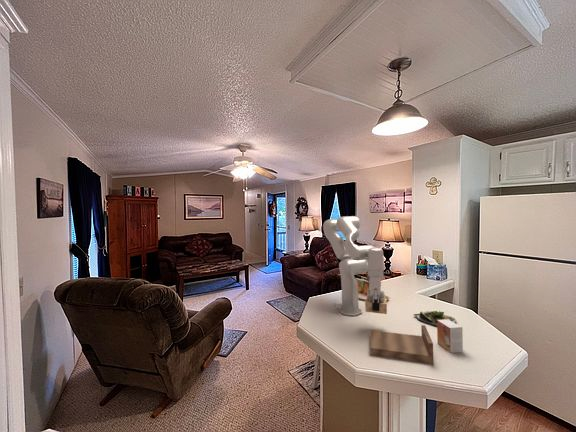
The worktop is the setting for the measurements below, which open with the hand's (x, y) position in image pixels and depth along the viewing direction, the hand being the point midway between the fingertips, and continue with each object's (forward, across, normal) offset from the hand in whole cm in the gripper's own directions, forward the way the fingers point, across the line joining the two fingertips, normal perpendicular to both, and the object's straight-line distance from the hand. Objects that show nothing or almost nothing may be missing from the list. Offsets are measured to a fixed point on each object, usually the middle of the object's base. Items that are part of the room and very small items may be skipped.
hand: (375, 307), depth 124 cm
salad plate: (+11, -18, +30) cm, 37 cm away
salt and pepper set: (+2, 0, 0) cm, 2 cm away
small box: (+10, +10, +30) cm, 33 cm away
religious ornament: (+12, -47, -4) cm, 49 cm away
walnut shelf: (+10, +17, +9) cm, 22 cm away
